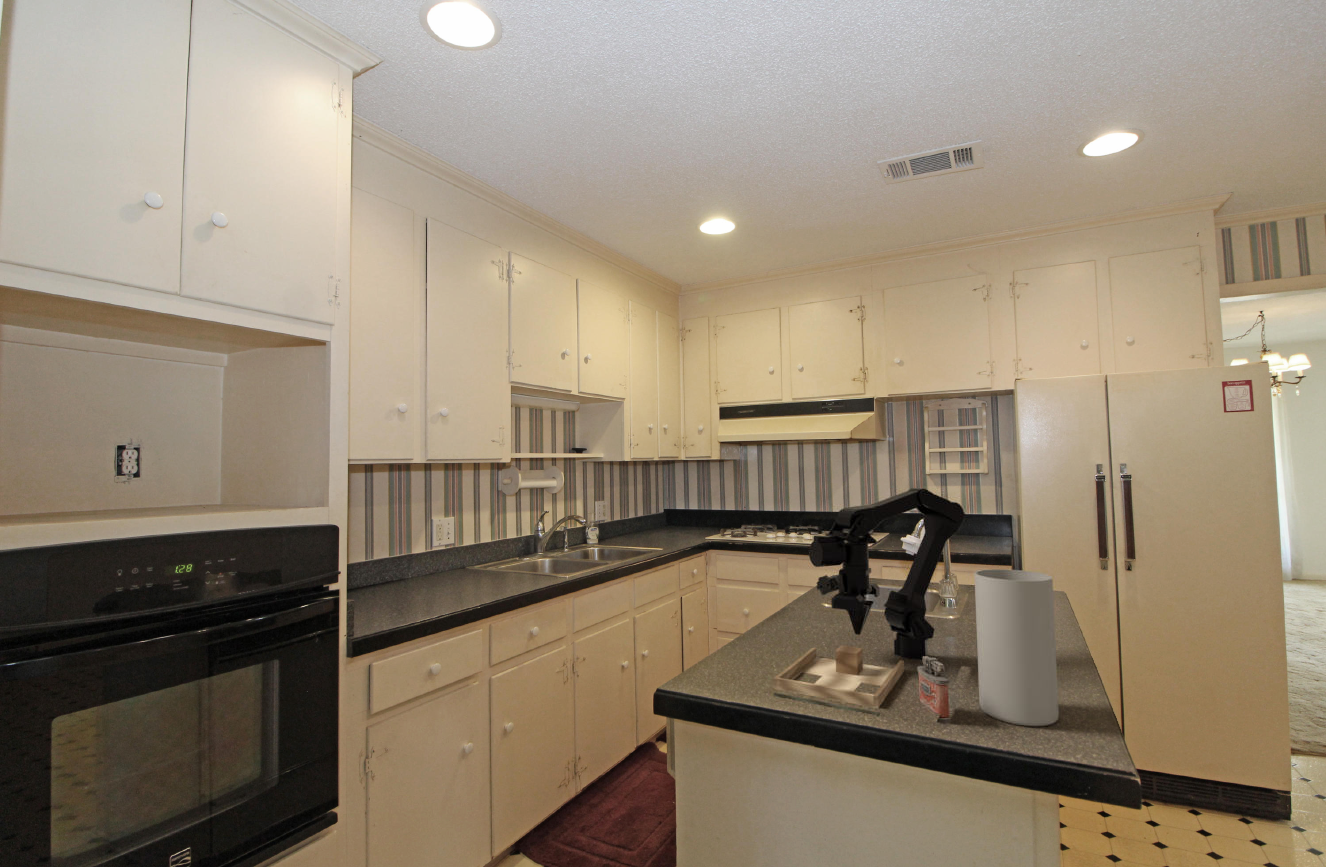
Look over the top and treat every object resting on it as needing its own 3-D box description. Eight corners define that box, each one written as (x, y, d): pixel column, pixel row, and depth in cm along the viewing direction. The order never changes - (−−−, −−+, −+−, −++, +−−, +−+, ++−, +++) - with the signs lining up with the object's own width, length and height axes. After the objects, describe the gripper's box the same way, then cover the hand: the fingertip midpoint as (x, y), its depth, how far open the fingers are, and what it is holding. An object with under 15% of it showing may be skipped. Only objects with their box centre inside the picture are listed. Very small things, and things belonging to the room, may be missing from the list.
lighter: (914, 706, 117) (912, 652, 117) (931, 705, 117) (929, 651, 118) (936, 724, 109) (934, 666, 109) (955, 723, 109) (953, 665, 110)
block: (862, 669, 134) (862, 648, 134) (857, 675, 130) (856, 653, 130) (842, 666, 136) (841, 645, 136) (836, 672, 132) (835, 650, 133)
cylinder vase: (1002, 728, 107) (996, 581, 108) (967, 701, 119) (962, 569, 121) (1075, 727, 107) (1068, 580, 108) (1031, 700, 119) (1026, 568, 121)
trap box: (904, 677, 133) (904, 660, 133) (878, 716, 112) (877, 696, 113) (813, 663, 143) (812, 647, 144) (774, 696, 123) (773, 678, 123)
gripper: (832, 556, 152) (834, 620, 152) (807, 567, 136) (809, 639, 136) (879, 559, 146) (881, 626, 146) (858, 571, 131) (861, 646, 130)
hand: (857, 634), depth 139 cm, fingers closed
